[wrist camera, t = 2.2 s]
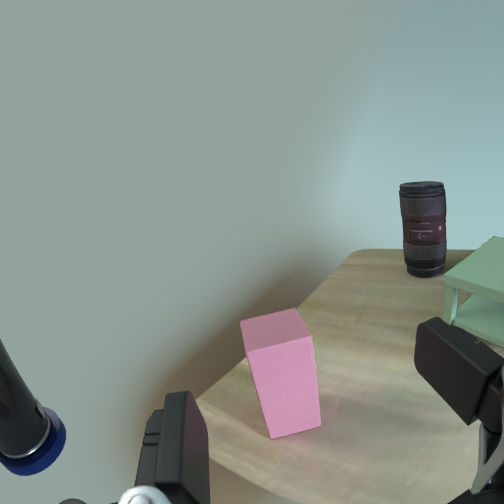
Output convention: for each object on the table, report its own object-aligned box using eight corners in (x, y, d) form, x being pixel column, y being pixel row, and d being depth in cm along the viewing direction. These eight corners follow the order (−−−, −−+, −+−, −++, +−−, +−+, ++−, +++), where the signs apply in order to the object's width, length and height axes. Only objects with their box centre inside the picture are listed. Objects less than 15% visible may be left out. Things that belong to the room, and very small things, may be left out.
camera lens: (455, 270, 41) (453, 181, 37) (423, 284, 40) (419, 188, 36) (426, 258, 49) (422, 179, 45) (395, 269, 48) (388, 184, 44)
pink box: (270, 439, 21) (245, 352, 18) (262, 406, 26) (239, 320, 23) (321, 426, 22) (311, 335, 19) (307, 394, 26) (295, 307, 23)
